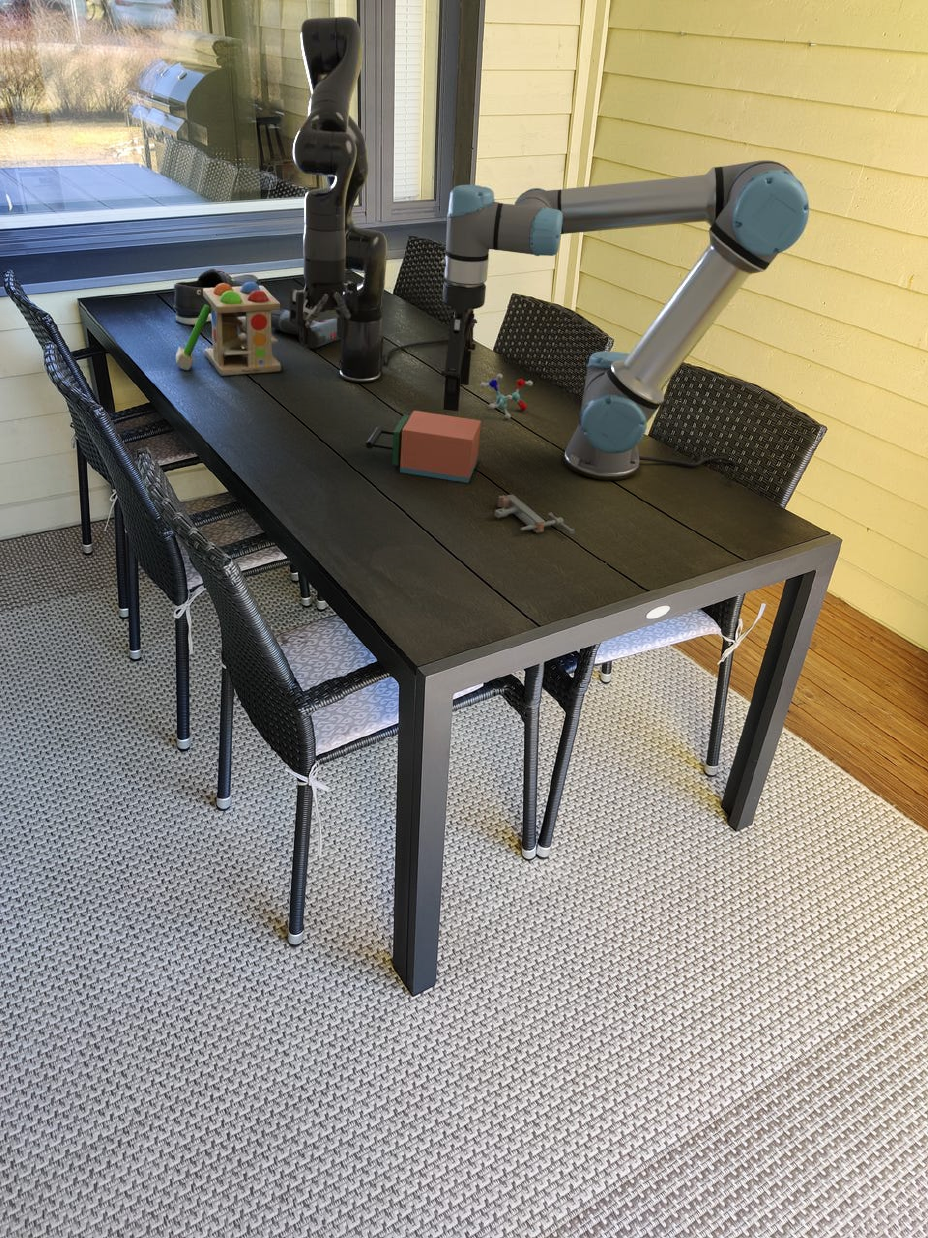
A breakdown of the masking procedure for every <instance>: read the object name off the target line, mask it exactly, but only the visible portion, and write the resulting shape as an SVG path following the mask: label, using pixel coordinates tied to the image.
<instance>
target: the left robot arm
mask: <svg viewBox="0 0 928 1238" xmlns="http://www.w3.org/2000/svg"><path fill="white" fill-rule="evenodd" d="M361 32H362V31H361V27H360V24H359V23H358V21H357V20H356V19H354V18H353V17H351V16H350V17H349V16H335V17H334V16H333V17H313V18H306V19H304V21H303V22H302V23H301V27H300V43H301V44H300V46H301V51H302V57H303V62H304V66H305V71H306V75H307V79H308V83H309V88H310V92H311V95H310V98H309V105H308V112H307V117H306V118H305V121H304V123H303V124H302V125H301V127H300V128H299V130H298V132H297V134H296V136H295V139H294V141H293V147H292V157H293V162H294V164H295V166H296V167H297V169H298V170H299V171H300V172H302V173H303V174H305V175H309V176H311V175H312V176H322V177H323V176H324V177H325V183H326V186H325V187H320V188H314V189H310V190H308V191H307V192H306V193H305V196H304V229H303V232H304V233H303V238H302V239H303V243H302V245H303V250H302V251H303V254H302V255H303V278H304V282H305V286H304V289H300V290H297V289H294V288H292V289H291V290H290V292H289V311H290V314H289V321H290V322H292V323H294V324H296V325H298V326H299V335H298V340H299V343H300V344H301V346H303V347H306V348H309V347H311V327H310V325H311V323H312V322H313V320H314V321H315V319H316V318H318V317H319V314H320V313H325V312H326V311H334V312H335V313H336V315H337V316H338V317H337V316H336V319H337V336H338V337H339V338H340V358H339V360H338V365H339V366H340V370H339V376H340V377H341V378H342V380H345V381H348V382H352V383H359V384H360V383H361V384H364V383H365V384H366V383H367V384H369V383H373V382H376V381H378V380H380V378H381V375H382V374H383V367H384V366H386V365H387V364H388V361H389V360H388V359H389V356H390V354H392V353H394V352H396V351H400V350H403V349H407V348H411V347H416V346H423V345H424V346H425V345H430V344H436V343H442V342H449V337H445V338H440V339H439V338H438V339H433V340H426V341H418V342H412V343H408V344H404V345H400V346H396V347H394V348H392V349H389V350H388V351H387V352H386V353H385V354H383V353H384V335H383V334H382V323H383V299H384V298H383V297H384V292H385V285H386V271H387V261H388V242H387V238H386V236H385V234H384V233H383V232H382V231H379V230H375V229H369V228H363V227H359V226H356V225H355V223H354V216H353V213H354V205H355V204H356V201H357V199H358V197H359V196H360V193H361V192H362V190H363V189H364V187H365V184H366V182H367V180H368V176H369V172H370V168H369V165H370V164H369V157H368V150H367V142H366V138H365V136H364V133H363V131H362V130H361V129H360V126H359V125H358V124H357V122H356V121H355V120H354V118H353V117H352V116H350V106H351V101H352V97H353V95H354V91H355V89H356V85H357V83H358V79H359V76H360V73H361V71H362V70H361V69H362V65H363V57H364V47H363V38H362V37H363V36H362V33H361ZM346 271H348V272H354V273H360V274H363V280H362V282H361V283H360V282H359V283H357V282H354V281H351V280H349V279H346ZM310 308H312V309H310ZM305 319H306V320H305ZM476 324H478V320H477V319H476V318H474V322H473V329H474V328H475V325H476Z"/></svg>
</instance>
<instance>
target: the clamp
mask: <svg viewBox="0 0 928 1238" xmlns="http://www.w3.org/2000/svg"><path fill="white" fill-rule="evenodd" d="M497 508H498V509H495V510H494V516H495V517H496V518H497V519H499V518H505V517H507V516H508V515H512V514H513V515H514V516H516V517H517V518H518V519H519V520H521V522H523V523H524V524H525V526H523V527H520V531H521V532H523V531H531V530H532V531H534V532H535V533H536V534H537V533H538V534H540V533H542V532H544V531H545V527H549V526H562V527H563V528H564V529H565V530H567V531H568V533H569V534H570V535H573V534H574V533H575V529H574V528H570V527H569V526H568V525H566V524H565V523H564V519H563V518H562V517H561V516H560V517H556V516H555V515H554V514H553V512H549V513H548V514H547V517H548V518H551V520H548V521H546V520H545V519H543V518H542V517H541V516H540V515H539V514H537V513H536V512H535V511H534V510H532V509H531V508H530V507H529V506H528V505H526V504H525V503H524V502H523V501H522V500H520V499H519V498H518V497H517V496H515V495H514V494H508V495H499V496H498V499H497ZM552 519H553V520H552Z"/></svg>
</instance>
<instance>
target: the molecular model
mask: <svg viewBox="0 0 928 1238" xmlns="http://www.w3.org/2000/svg"><path fill="white" fill-rule="evenodd" d="M503 377H504V376H503V374H502V373H498V374H497V375H496V378H495V379H492V380H490V382H485V381H482V382H481V383H480V387H481V388H482V389H485V388H486V387H487V386H488V387H489V386H490V387H491V388H493V389H494V391H495V393H496V394H497V396H496V401H495V402H493V403H490V404H488V409H489V410H494V409H495V410H496V408H499V410H503V412H504V418H505V419H507V420H509V419H511V418H512V417H511V416H512V415H511V413H508V410H507V405H508V404H507V403H508V402H509V401H511V400H513V401H515V402H516V403H517V405H518V406H519V410H521V411H523V412H525V411H526V410H527V408H528V406H527V404H525V403H524V402H523V400H522V399H521V398H520V397H521V396H520V393H519V392H520V389H521V387H523V386H524V385H527V386H528V387H532V386H533V381H532V380H528V381H524V380H523V379H522V378H519V379H517V380H516V385H517V387H516V390H515V391H514V392H512V394H507V395H506V396H505V395H504V394H502V393H500V391H499V389H498V382H499V380H502V379H503Z"/></svg>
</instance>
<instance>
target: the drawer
mask: <svg viewBox="0 0 928 1238" xmlns="http://www.w3.org/2000/svg"><path fill="white" fill-rule="evenodd" d="M410 416H411V415H408V414H404V415H403V416H402V418H401V419H400V421H399V422H398V424H397V425H396V427H395V429H394V430H387V429H383V427H381V426H377V427H376V428H375V429H374V431H373V432H372V433H371V436H370V437H369V438H368V440H367V441H366V442H365V447H366V448H367V449H368V450H371V449H373V448H377V449H383V450H390V451H392V459H391V465H392V466H396V467H397V466H400V464H401V444H402V429H403V428H404V426H405V424H406V423H407V421H408V420H409V418H410ZM382 434H384V435H390V436H392V445H389V444H381V443H377V442H378V440H379V439H380V437H381V435H382Z"/></svg>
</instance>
